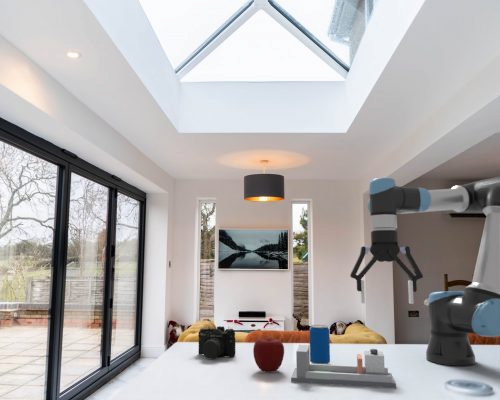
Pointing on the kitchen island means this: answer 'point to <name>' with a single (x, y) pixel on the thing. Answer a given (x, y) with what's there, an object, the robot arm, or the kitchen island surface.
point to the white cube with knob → (374, 362)
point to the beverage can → (319, 344)
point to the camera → (216, 342)
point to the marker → (359, 364)
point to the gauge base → (335, 373)
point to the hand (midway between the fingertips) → (386, 303)
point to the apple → (268, 354)
